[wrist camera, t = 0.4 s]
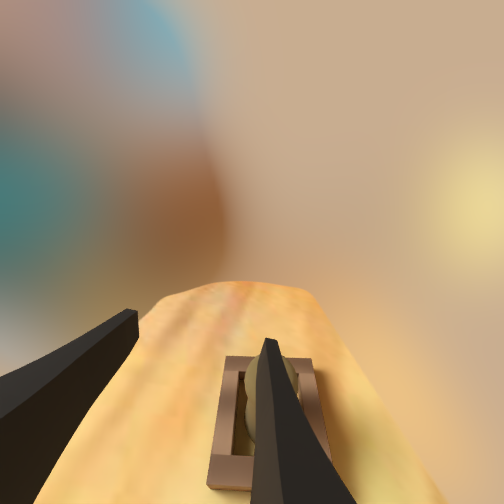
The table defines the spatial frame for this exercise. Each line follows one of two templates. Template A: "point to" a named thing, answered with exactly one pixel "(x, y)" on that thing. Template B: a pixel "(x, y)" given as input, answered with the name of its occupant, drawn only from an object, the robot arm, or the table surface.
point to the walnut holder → (222, 459)
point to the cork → (251, 392)
